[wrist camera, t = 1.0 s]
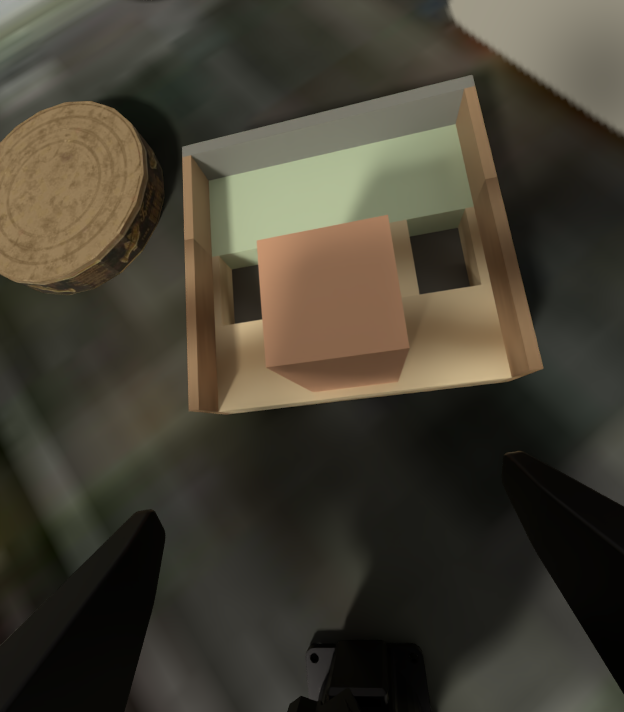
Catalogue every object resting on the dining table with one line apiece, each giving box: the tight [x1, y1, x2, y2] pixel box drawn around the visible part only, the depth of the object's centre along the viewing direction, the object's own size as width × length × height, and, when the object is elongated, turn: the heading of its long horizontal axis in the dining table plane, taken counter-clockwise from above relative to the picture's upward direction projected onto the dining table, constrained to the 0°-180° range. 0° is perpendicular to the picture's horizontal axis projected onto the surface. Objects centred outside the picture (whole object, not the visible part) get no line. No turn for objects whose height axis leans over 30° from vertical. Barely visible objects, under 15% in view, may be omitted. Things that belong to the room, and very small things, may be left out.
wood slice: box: [0, 101, 164, 295], centre depth 30 cm, size 16×16×3 cm
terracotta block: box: [257, 215, 410, 392], centre depth 17 cm, size 5×5×9 cm
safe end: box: [182, 75, 497, 269], centre depth 24 cm, size 7×18×5 cm, turn 96°
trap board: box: [185, 177, 543, 414], centre depth 22 cm, size 10×18×5 cm, turn 96°
